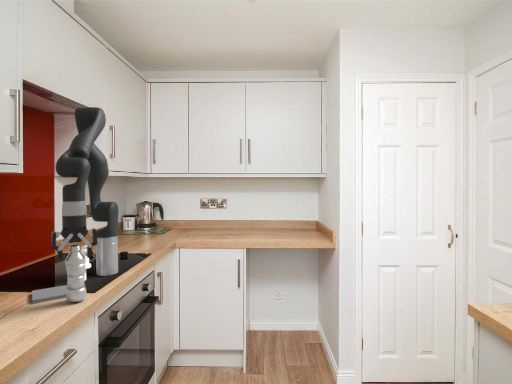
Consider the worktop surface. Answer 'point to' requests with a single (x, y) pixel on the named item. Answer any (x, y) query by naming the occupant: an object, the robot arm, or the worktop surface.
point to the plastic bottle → (75, 274)
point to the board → (49, 294)
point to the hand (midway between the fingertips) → (75, 259)
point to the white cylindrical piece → (87, 264)
